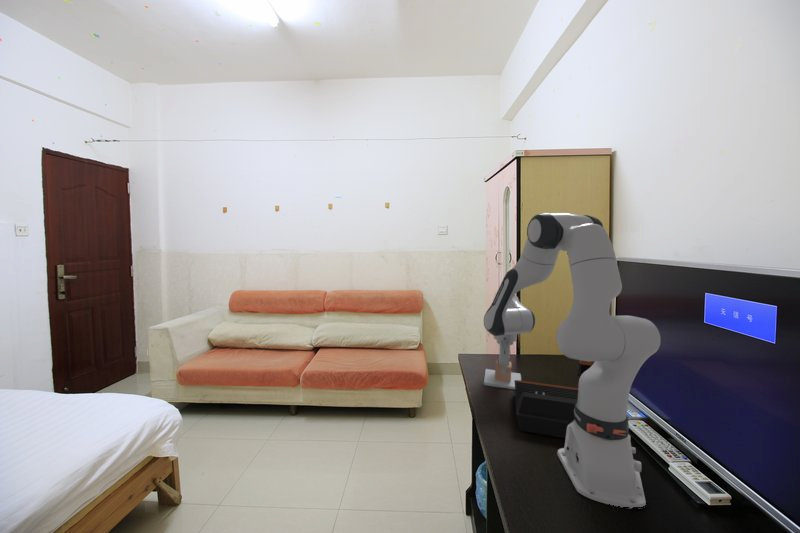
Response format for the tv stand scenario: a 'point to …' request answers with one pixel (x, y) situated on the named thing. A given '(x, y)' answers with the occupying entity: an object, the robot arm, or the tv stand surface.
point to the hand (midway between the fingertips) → (503, 368)
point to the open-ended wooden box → (500, 375)
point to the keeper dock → (491, 381)
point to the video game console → (544, 407)
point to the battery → (584, 366)
